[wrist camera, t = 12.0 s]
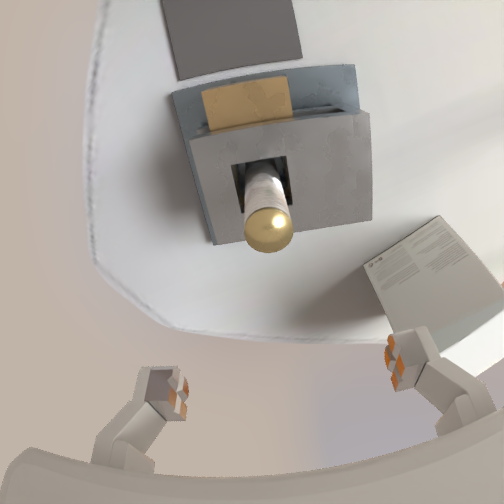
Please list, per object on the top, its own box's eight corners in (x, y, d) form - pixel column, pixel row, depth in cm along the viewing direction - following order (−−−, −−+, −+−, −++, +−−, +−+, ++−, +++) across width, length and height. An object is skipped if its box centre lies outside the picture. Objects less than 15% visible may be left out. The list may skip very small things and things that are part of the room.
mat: (158, -21, 19) (157, -21, 19) (280, -44, 18) (280, -45, 18) (181, 80, 26) (180, 80, 26) (302, 58, 25) (302, 58, 25)
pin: (242, 150, 30) (239, 215, 18) (272, 145, 29) (290, 206, 18) (248, 177, 31) (249, 256, 20) (276, 172, 31) (295, 248, 19)
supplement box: (391, 314, 45) (429, 405, 31) (360, 264, 39) (407, 372, 25) (458, 271, 41) (511, 353, 26) (439, 212, 35) (516, 300, 20)
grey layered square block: (173, 91, 27) (152, 100, 20) (351, 64, 25) (381, 66, 19) (214, 240, 37) (208, 281, 31) (361, 217, 35) (384, 252, 29)
